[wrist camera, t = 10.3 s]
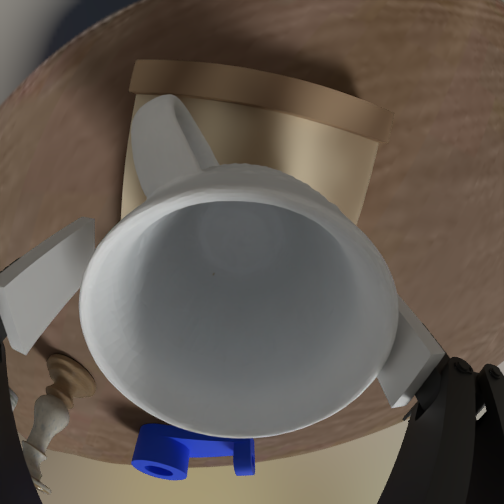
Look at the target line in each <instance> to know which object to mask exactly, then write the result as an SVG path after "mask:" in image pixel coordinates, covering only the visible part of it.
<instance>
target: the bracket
mask: <svg viewBox="0 0 504 504" xmlns="http://www.w3.org/2000/svg"><path fill="white" fill-rule="evenodd" d="M231 455H233V463H234V470H235V474H236V475H237V476H242V475H243V476H244V475H254V474H255V454H254V440H253V438H224V437H217V436H209V435H204V434H200V433H196V432H192V431H189V430H185V429H182V428H179V427H176V426H170V425H162V424H145V425H143V426H141V428H140V432H139V435H138V439H137V443H136V447H135V451H134V454H133V458H132V462H131V463H132V465H133V466H134V467H135V468H136V469H137V470H139V471H141V472H143V473H145V474H148V475H150V476H154V477H157V478H162V479H168V480H183V479H185V478H186V477H187V470H188V462H189V457H217V456H231Z"/></svg>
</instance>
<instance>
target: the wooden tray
mask: <svg viewBox="0 0 504 504" xmlns="http://www.w3.org/2000/svg"><path fill="white" fill-rule="evenodd" d="M128 92H131V93H134V94H136V98H135V103H134V109H133V114H132V120H131V126H132V121H133V118H134V116H135V114H136V112H137V111H138V110H139V109H140V108H141V107H142V106H143V105H144V104H145V103H147V102H149V101H150V100H152V99H154V98H156V97H159V96H162V95H167V94H171V95H174V96H176V97H178V98H179V99H180V100H181V102H182V103H183V104H184V105H185V107H186V108H187V110H188V111H189V113H190V114H191V116H192V117H193V119H194V121H195V122H196V124H197V126H198V127H199V129H200V131H201V132H202V134H203V136H204V138H205V139H206V141H207V143H208V144H209V146H210V148H211V150H212V152H213V154H214V156H215V158H216V160H217V161H218V163H219V165H222V164H233V163H237V164H243V163H247V164H251V165H260V166H267V167H269V168H272V169H276V170H280V171H282V172H283V173H286V174H288V175H291V176H293V177H294V178H296V179H298V180H300V181H302V182H303V183H306V184H308V185H309V186H310V187H311V188H312V189H314V190H315V191H318V192H319V193H320V194H321V195H323V196H324V197H325V198H326V199H327V200H328V201H329V202H331V203H333V204H335V205H336V206H338V208H339V209H340V211H341V212H342V213H343V214H344V215H345V216H346V217H347V218H348V219H349V220H350V221H352V222H353V223H354V224H355V225H357V222H358V219H359V215H360V212H361V209H362V205H363V202H364V199H365V195H366V191H367V188H368V184H369V181H370V177H371V173H372V169H373V165H374V161H375V157H376V153H377V149H378V144H379V143H385V144H388V142H389V138H390V133H391V128H392V124H393V119H394V113H393V112H391V111H389V110H387V109H384V108H382V107H379V106H377V105H375V104H372V103H370V102H367V101H365V100H362V99H359V98H357V97H354V96H351V95H348V94H346V93H343V92H340V91H337V90H334V89H331V88H327V87H324V86H321V85H318V84H314V83H311V82H307V81H304V80H300V79H296V78H292V77H288V76H284V75H279V74H275V73H270V72H265V71H260V70H255V69H250V68H244V67H238V66H231V65H224V64H216V63H207V62H196V61H182V60H152V59H145V60H136V61H135V65H134V69H133V73H132V77H131V81H130V86H129V90H128ZM131 126H130V132H129V138H128V146H127V153H126V161H125V171H124V181H123V193H122V209H121V220H122V219H123V218H124V217H125V216H126V215H127V214H129V213H130V212H131V211H133V210H134V209H135V208H137V207H138V206H139V205H141V204H142V203H144V202H145V201H146V199H147V197H146V195H145V194H144V192H143V190H142V188H141V185H140V182H139V179H138V176H137V173H136V169H135V165H134V160H133V153H132V145H131Z"/></svg>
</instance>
